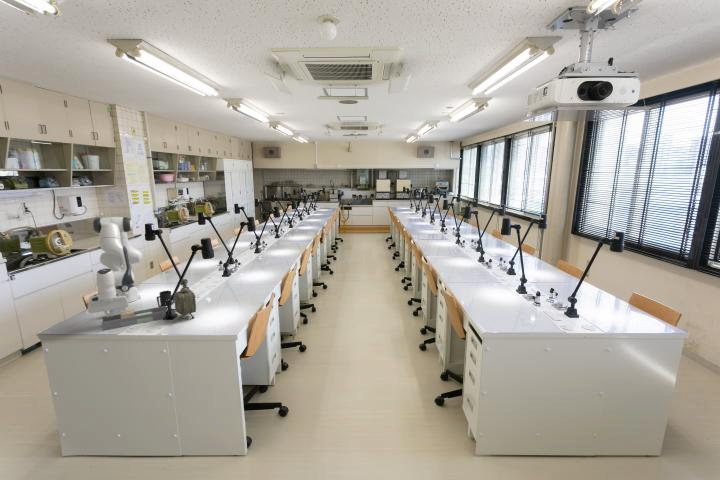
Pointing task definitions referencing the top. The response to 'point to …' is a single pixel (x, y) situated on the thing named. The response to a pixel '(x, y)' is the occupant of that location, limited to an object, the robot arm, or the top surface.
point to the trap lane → (134, 318)
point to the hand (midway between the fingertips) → (110, 316)
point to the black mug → (163, 297)
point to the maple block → (127, 314)
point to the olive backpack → (185, 301)
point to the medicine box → (117, 311)
